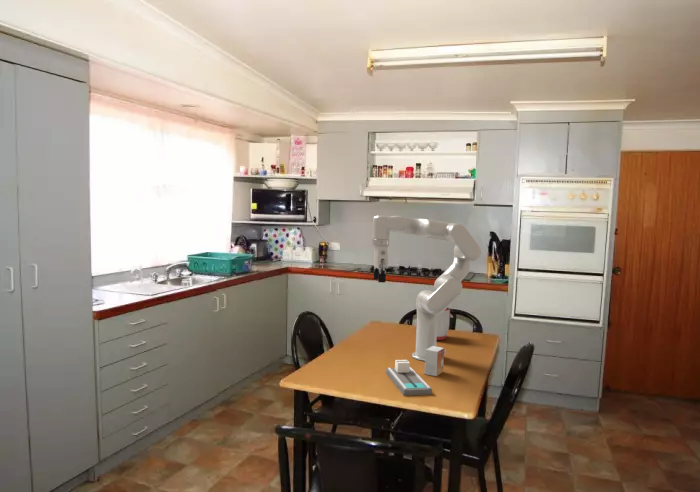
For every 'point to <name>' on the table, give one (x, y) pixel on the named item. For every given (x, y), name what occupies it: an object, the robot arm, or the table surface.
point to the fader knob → (402, 366)
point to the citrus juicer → (443, 324)
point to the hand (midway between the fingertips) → (379, 280)
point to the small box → (434, 360)
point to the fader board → (409, 382)
